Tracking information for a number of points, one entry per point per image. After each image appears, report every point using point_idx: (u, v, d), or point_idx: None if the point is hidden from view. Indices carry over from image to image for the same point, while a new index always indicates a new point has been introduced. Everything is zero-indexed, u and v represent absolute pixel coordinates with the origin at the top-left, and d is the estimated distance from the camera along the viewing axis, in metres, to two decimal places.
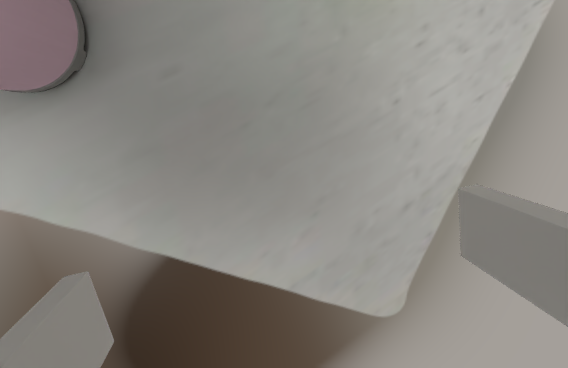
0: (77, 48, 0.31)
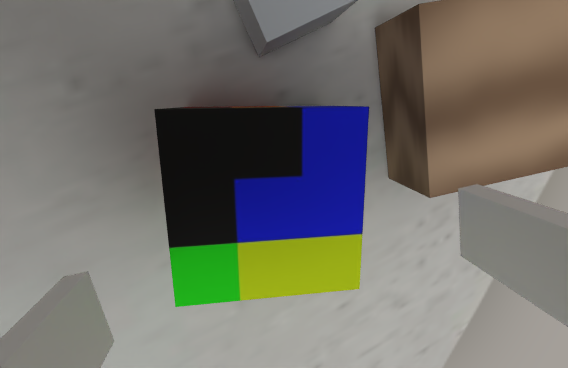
0: None
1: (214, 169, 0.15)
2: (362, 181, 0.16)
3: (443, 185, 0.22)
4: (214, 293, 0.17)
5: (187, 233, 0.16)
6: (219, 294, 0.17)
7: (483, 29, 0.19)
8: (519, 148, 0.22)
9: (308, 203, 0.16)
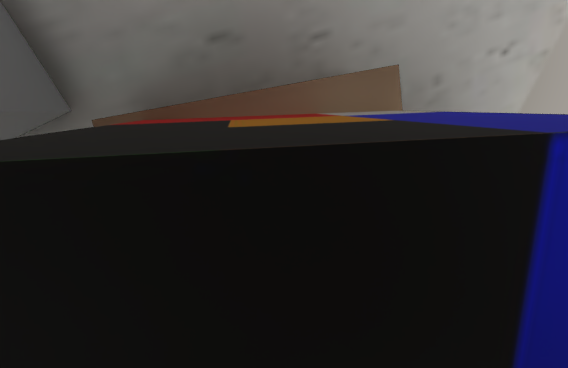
0: None
1: None
2: None
3: None
4: None
5: None
6: None
7: None
8: None
9: None
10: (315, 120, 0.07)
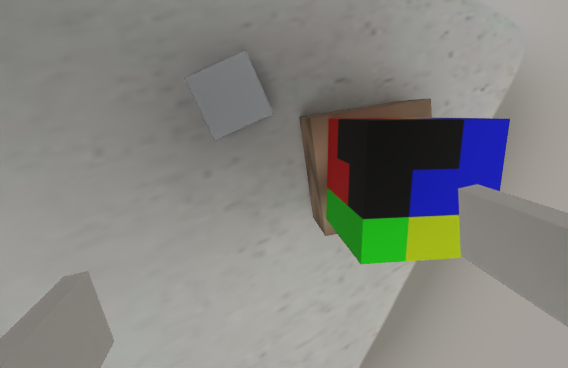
0: None
1: (400, 162, 0.21)
2: (500, 173, 0.22)
3: None
4: (388, 255, 0.23)
5: (376, 208, 0.22)
6: (391, 255, 0.23)
7: None
8: None
9: None
10: None
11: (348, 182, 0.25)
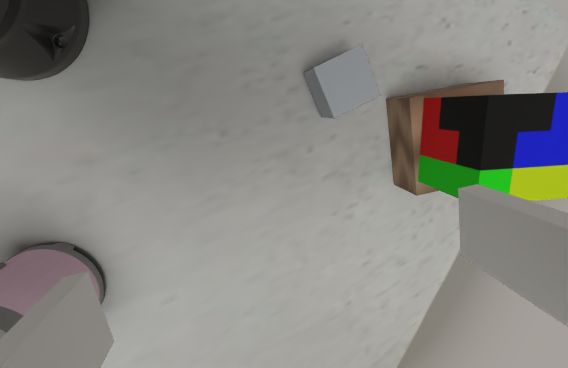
0: None
1: (509, 126, 0.29)
2: None
3: (424, 188, 0.40)
4: None
5: (490, 162, 0.29)
6: None
7: None
8: None
9: (551, 146, 0.30)
10: None
11: (457, 145, 0.32)
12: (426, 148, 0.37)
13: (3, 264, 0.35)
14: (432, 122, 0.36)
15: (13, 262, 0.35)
